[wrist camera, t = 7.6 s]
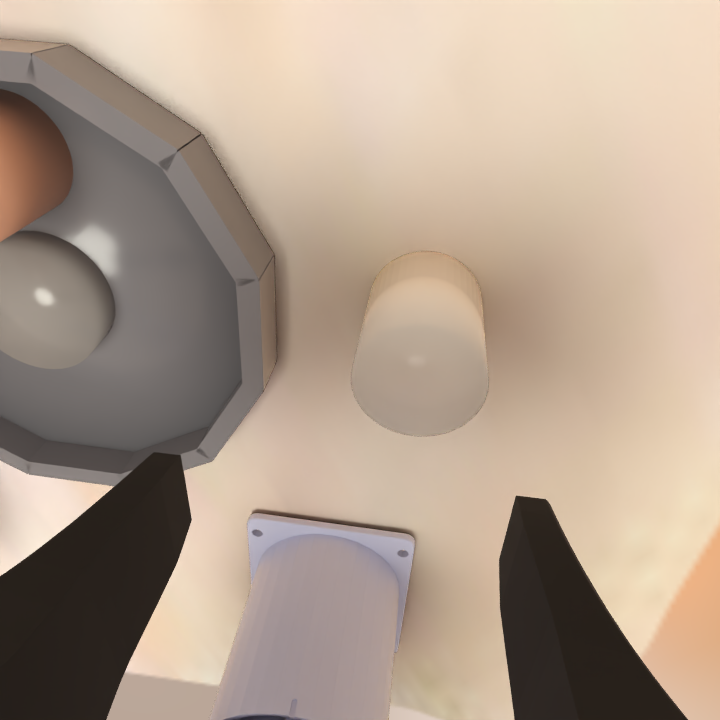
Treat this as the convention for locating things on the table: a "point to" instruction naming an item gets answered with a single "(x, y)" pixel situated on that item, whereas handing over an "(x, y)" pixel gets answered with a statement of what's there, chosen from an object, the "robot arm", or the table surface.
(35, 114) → the bead terracotta
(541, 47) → the table surface
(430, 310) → the bead cream
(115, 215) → the groove tray
